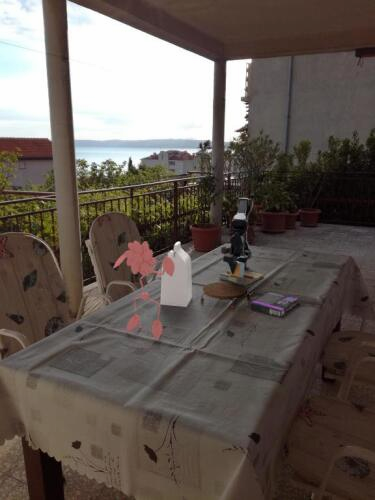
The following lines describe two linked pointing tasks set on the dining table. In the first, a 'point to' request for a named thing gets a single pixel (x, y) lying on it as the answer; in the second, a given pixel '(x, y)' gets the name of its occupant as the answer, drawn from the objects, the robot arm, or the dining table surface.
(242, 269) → the carton
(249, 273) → the shelf
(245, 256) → the robot arm
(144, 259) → the figurine
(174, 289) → the milk
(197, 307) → the dining table surface
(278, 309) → the box
